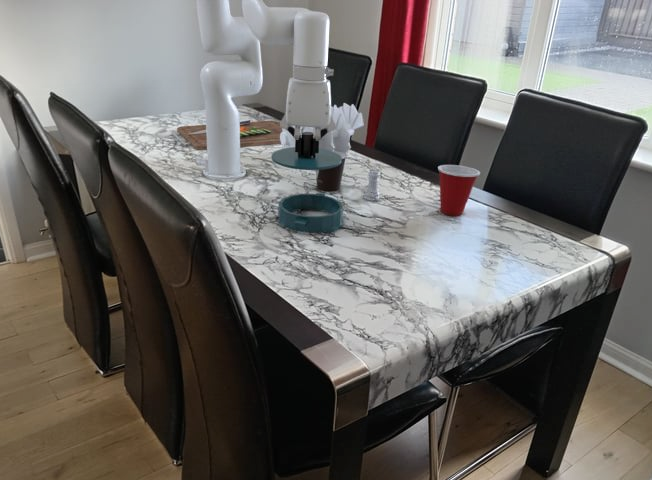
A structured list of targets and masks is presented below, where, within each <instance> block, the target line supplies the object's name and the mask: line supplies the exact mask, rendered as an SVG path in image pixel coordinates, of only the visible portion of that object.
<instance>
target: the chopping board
mask: <svg viewBox="0 0 652 480" xmlns="http://www.w3.org/2000/svg"><path fill="white" fill-rule="evenodd" d="M280 122H281V121H277V120H259V121H257V120H256V121H251V120H249V119H248V120H243V121H240V148H243V147H254V146H256V147H257V146H269V145H278V144H280V145H281V141H280V134H281V132H282V127H280ZM171 134H172V135H173V136H174V137H175V138H176V139H177V140H178V141H179V142H180V143H181V144H182V145H183V146H184V147H185V146H187V145H190V146H191V147H192V148H193V149H194V150H201V151H207V134H206V124H199V125H195V124H194V125H182V126H178V127H177V128H176V132H174V131H172V132H171Z"/></svg>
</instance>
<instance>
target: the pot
mask: <svg viewBox="0 0 652 480" xmlns="http://www.w3.org/2000/svg"><path fill="white" fill-rule="evenodd" d="M299 210H315V211H322V212H325V213H328V214H324V215H306V214H305V215H304V214H299V213H295V212H294V211H299ZM277 214H278V215H277V216H278V217H277V218H278V222H279V224H280V225H282V226H283V227H284V228H286V229H290V230H292V231H295V232H300V233H301V232H302V233H308V234H312V233H313V234H315V233H316V234H318V233H324V234H330V233H333V232H336V231H337V230H339V229H340V228H341V226H342V223H343V217H344V205H343V203H342V202H341V201H340V200H338V199H336V198H335V197H331V196H328V195H326V194H325V193H319V192H316V193H298V194H291V195H287V196H285V197H283V198H281V200H280V201H279V202H278V213H277Z"/></svg>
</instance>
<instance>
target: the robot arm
mask: <svg viewBox="0 0 652 480" xmlns="http://www.w3.org/2000/svg"><path fill="white" fill-rule="evenodd" d="M264 1H265V0H241V9H242V15H243V16H232V13H231V9H230V0H195V3H196V10H197V11H196V12H197V19H198V28H199V36H200V41H201V45H202V49H203V50H204V52H205V53H206V54H208V55H211V56H236V55H237V57H238V59H233V60H232V59H228V60H227V59H225V60H214V61H210V62H207V63H206V64H204V65H203V66H202V68H201V70H200V73H199V80H200V85H201V90H202V95H203V99H204V100H203V101H204V111H205V112H204V113H205V125H206V134H207V150H206V153H207V156H206V157H203V156H195V165H196V166H202V167H204V168H203V169H202V174H203V176H204V177H207V178H210V179H214V180H235V179H239V178H242V177H244V176H245V175H246V173H247V171H246V168H244V166H241V147H240V122H241V121H240V120H241V119H240V117H241V116H240V111H239V109H238V107H237V106H236V104H235V103H234V102H233V100H232V98H237V97H246V96H254V95H257V94H258V93H259V92H260V91H261V90H262V88H263V83H264V82H263V81H264V77H263V63H262V53H261V43H262V44H263V45H266V46H286V45H289V46H291V45H292V46H293V49H292V50H293V55H292V77H289V80H288V84H287V93H286V101H285V102H286V103H285V105H286V106H285V112H284V114H283V116H282V118H281V120H280V121H279V122H280V127H282V128H283V129H285V130H287V131H288V132H289V133H290V134H291V135H292V136H293V137H294V139H295V152H298V157H300V156H301V135H300V128H301V126H304V127H315V136H314V138H313V155H312V157H313V158H315V156H316V153H319V140H320V139H321V138H322V137H323V136H324V135H326V134H327V133H328V132H331V131H333V130H335V129H336V125H335V123H334V120H333V118H332V116H331V106H332V89H331V80H330V79H327V78H329V77H331V76H332V77H333V76H334V73H335V72H334V71H335V70H334V68H332V69H331V68H330V67H328V63H329V62H328V59H329V41H330V17H329V15H328V14H327V13H325V12H322V11H313V10H310V9H308V8H305V7H289V6H288V7H287V6H286V7H284V6H272V7H270V6H268V5H267V4H265V2H264ZM291 125H292V126H291ZM293 126H295V128H294V127H293ZM326 126H327V127H326ZM320 127H324V128H323V129H320Z"/></svg>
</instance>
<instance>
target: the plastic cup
mask: <svg viewBox="0 0 652 480" xmlns="http://www.w3.org/2000/svg"><path fill="white" fill-rule="evenodd" d="M437 169H438V174H439V200H440V212H441V213H442V214H444V215H446V216H451V217H460V216H461V215H463V212H464V211H465V208H466V205H467V203H468V202H469V198H470V195H471V193H472V191H473V187H474V185H475V184H476V181H477V179H478V177H479V176H480V174H481V171H480V170H477V169H476V168H473V167H469V166H464V165H457V164H441V165H438V166H437Z"/></svg>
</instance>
